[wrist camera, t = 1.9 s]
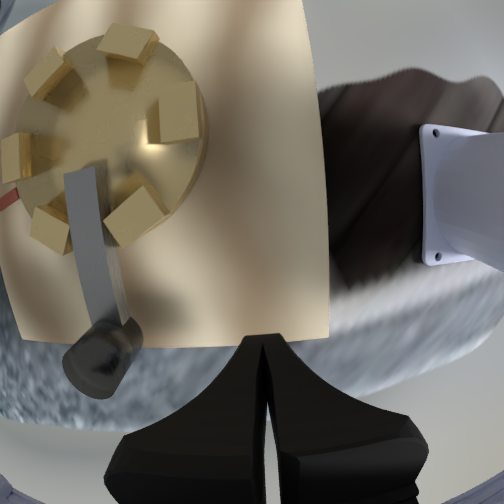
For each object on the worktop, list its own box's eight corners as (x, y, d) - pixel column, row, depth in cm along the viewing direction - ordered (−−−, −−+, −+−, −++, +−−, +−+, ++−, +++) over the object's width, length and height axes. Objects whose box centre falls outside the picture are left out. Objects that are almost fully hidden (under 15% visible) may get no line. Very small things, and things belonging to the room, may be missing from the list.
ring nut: (202, 29, 11) (178, -35, 6) (230, 333, 15) (220, 406, 10) (36, 80, 12) (-27, 60, 6) (68, 333, 15) (18, 383, 10)
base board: (287, -37, 11) (290, -52, 10) (322, 324, 17) (329, 339, 15) (11, 41, 12) (-3, 35, 10) (33, 330, 17) (21, 340, 15)
